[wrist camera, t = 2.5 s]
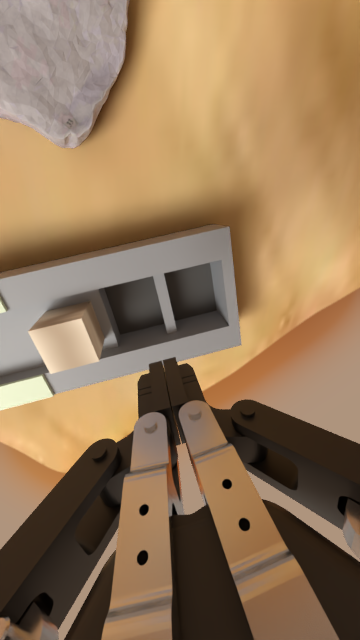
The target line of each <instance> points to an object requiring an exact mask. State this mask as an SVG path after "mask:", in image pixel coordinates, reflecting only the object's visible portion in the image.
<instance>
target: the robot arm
mask: <svg viewBox="0 0 360 640" xmlns="http://www.w3.org/2000/svg"><path fill="white" fill-rule="evenodd" d="M163 364H164V367H163ZM164 369H165V371H164ZM149 372H150V373H149V374H145V375H141V377H140V379H139V381H138V414H139V419H138V421H137V422H136V424H135V426H134V431H133V432H132V433H131V434H130V435H128V436H127V437H125V438H124V439H122V440H120V441H119V442H117V443H116V442H115V441H114V440H112V439H101V440H99V441H97V442H95V443H93V444H92V445H91V446H90V447H89V448H88V449H87V450H86V451H85V452H84V454H83V455H82V456H81V457H80V458H79V459H78V460H77V462H76V463H75V464H74V465H73V466H72V467H71V469H70V470H69V471H68V472H67V473H66V474H65V476H64V477H63V478H62V479H61V480H60V481H59V482H58V484H57V485H56V486H55V487H54V488H53V489H52V491H51V492H50V493H49V494H48V495H47V496H46V498H45V499H44V500H43V501H42V502H41V503H40V504H39V506H38V507H37V508H36V509H35V510H34V511H33V513H32V514H31V515H30V516H29V517H28V518H27V520H26V521H25V522H24V523H23V524H22V525H21V526H20V528H19V529H18V530H17V531H16V533H15V534H14V535H13V536H12V537H11V538H10V539H9V541H8V542H7V543H6V544H5V545H4V546H3V547H2V549H1V550H0V640H58V639H59V638H58V629H59V627H60V626H61V624H62V622H63V621H64V619H65V617H66V615H67V614H68V612H69V610H70V609H71V607H72V605H73V604H74V602H75V600H76V598H77V597H78V595H79V593H80V591H81V590H82V588H83V586H84V585H85V583H86V581H87V580H88V578H89V576H90V575H91V573H92V571H93V569H94V568H95V566H96V564H97V562H98V561H99V559H100V558H101V556H102V554H103V552H104V551H105V549H106V547H107V546H108V544H109V542H110V541H111V539H112V537H113V535H114V534H115V532H116V530H117V529H118V527H119V529H118V538H117V548H116V550H115V551H114V553H113V554H112V555H111V556H110V558H109V559H108V561H107V562H106V564H105V565H104V567H103V568H102V570H101V572H100V574H99V576H98V578H97V580H96V581H95V583H94V585H93V587H92V589H91V591H90V593H89V594H88V596H87V598H86V600H85V602H84V604H83V606H82V607H81V610H80V611H79V613H78V615H77V617H76V619H75V620H74V623H73V624H72V626H71V628H70V630H69V632H68V634H67V635H66V637H65V639H64V640H360V562H359V561H357V560H356V559H355V558H353V557H352V556H351V555H349V554H348V553H346V552H345V551H344V550H342V549H341V548H339V547H338V546H337V545H335V544H334V543H332V542H331V541H329V540H328V539H327V538H325V537H324V536H322V535H321V534H319V533H318V532H317V531H315V530H314V529H313V528H311V527H310V526H308V525H307V524H306V523H304V522H303V521H301V520H300V519H298V518H297V517H296V516H294V515H293V514H291V513H290V512H289V511H287V510H286V509H284V508H282V507H280V506H279V505H277V504H275V503H272V502H270V501H267V500H263V499H261V498H260V496H259V494H258V492H257V490H256V488H255V486H254V484H253V482H252V480H251V478H250V477H249V475H248V473H247V471H249V472H251V473H252V474H254V475H255V476H257V477H258V478H260V479H262V480H263V481H265V482H266V483H268V484H270V485H271V486H273V487H275V488H276V489H278V490H279V491H281V492H282V493H284V494H286V495H287V496H289V497H290V498H292V499H294V500H295V501H297V502H298V503H300V504H302V505H303V506H305V507H306V508H308V509H310V510H311V511H313V512H315V513H316V514H318V515H319V516H321V517H322V518H324V519H326V520H327V521H329V522H330V523H332V524H334V525H335V526H337V527H338V528H340V529H342V530H343V535H344V538H345V540H346V542H347V544H348V546H349V547H350V548H351V550H352V551H353V553H354V554H355V555H356V556H357V557H358V558H359V559H360V444H358V443H356V442H353V441H351V440H348V439H346V438H344V437H341V436H338V435H336V434H334V433H332V432H329V431H327V430H324V429H322V428H319V427H317V426H314V425H312V424H310V423H307V422H305V421H302V420H300V419H297V418H295V417H292V416H290V415H287V414H285V413H283V412H280V411H278V410H275V409H273V408H271V407H268V406H266V405H263V404H261V403H258V402H256V401H253V400H241V401H238V402H236V403H235V404H234V405H233V406H232V408H231V409H229V410H222V409H221V410H220V409H215V408H213V407H211V406H210V405H208V404H207V402H206V401H205V399H204V396H203V393H202V391H201V388H200V385H199V383H198V381H197V378H196V375H195V372H194V370H193V368H192V367H191V366H190V365H189V364H187V363H186V364H182V365H178V364H177V361H176V357H173V358H169V359H165V360H163V363H162V361H158V362H154V363H150V364H149ZM176 423H177V424H176ZM177 427H178V428H177ZM178 430H179V433H178ZM179 434H180V437H181V441H182V444H183V443H186V446H187V449H188V453H189V457H190V461H191V464H192V466H193V470H194V473H195V476H196V479H197V482H198V486H199V489H200V492H201V495H202V498H203V501H204V505H205V506H204V507H202V508H201V509H199V510H198V511H196V512H195V513H193V514H190V515H184V509H183V501H182V492H181V481H180V471H179V462H178V454H177V448H176V445H180V444H181V443H180V438H179ZM246 470H247V471H246Z"/></svg>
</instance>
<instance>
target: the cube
mask: <svg viewBox="0 0 360 640" xmlns="http://www.w3.org/2000/svg"><path fill="white" fill-rule="evenodd" d="M28 333H29V335H30V337H31V338H32V340H33V342H34V344H35V346H36V348H37V350H38V352H39V353H40V355H41V357H42V359H43V361H44V363H45V365H46V366H47V368H48V370H49V372H50V374H52V373H56V372H60V371H64V370H68V369H72V368H76V367H80V366H83V365H87V364H91V363H95V362H99V360H100V356H101V352H102V348H103V344H104V340H105V338H104V335H103V332H102V330H101V327H100V325H99V322H98V319H97V317H96V314H95V312H94V309H93V306H92V304H91V301H87V302H83V303H79V304H75V305H71V306H67V307H62V308H58V309H54V310H50V311H46V312H45V313H44V314H43V315H42V316H41V317H40V318H39V320H38V321H37V322H36V323H35V324H34V325H33V326H32V327H31V329H30V330H29V331H28Z"/></svg>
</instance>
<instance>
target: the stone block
mask: <svg viewBox="0 0 360 640" xmlns="http://www.w3.org/2000/svg"><path fill="white" fill-rule="evenodd" d="M129 1H130V0H0V118H3V119H8V120H11V121H14V122H17V123H22V124H24V125H26V126H28V127H31V128H33V129H34V130H36V131H37V132H38V133H40V134H41V135H43V136H44V137H45V138H47V139H48V140H50V141H51V142H53V143H54V144H56V145H57V146H59V147H62V148H76V147H77V146H79V145H80V144H81V143H82V142H83V141H84V140H85V139H86V138H87V137H88V136H89V133H90V132H91V130H92V128H93V126H94V123H95V121H96V119H97V116H98V114H99V112H100V110H101V107H102V105H103V104H104V103H105V101H106V100H107V98H108V94H109V91H110V89H111V87H112V86H113V84H114V83H115V81H116V79H117V76H118V74H119V72H120V69H121V67H122V65H123V63H124V59H125V49H126V30H127V24H128V18H127V14H128V6H129Z"/></svg>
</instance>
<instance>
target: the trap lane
mask: <svg viewBox="0 0 360 640" xmlns="http://www.w3.org/2000/svg"><path fill="white" fill-rule="evenodd" d="M87 301H91V304H92V306H93V309H94V312H95V314H96V317H97V319H98V322H99V325H100V327H101V330H102V332H103V335H104V338H105V340H104V344H103V348H102V352H101V356H100V360H99V362H95V363H91V364H87V365H83V366H80V367H76V368H72V369H68V370H64V371H60V372H56V373H52V374H50V372H49V370H48V368H47V366H46V365H45V363H44V361H43V359H42V357H41V355H40V353H39V352H38V350H37V348H36V346H35V344H34V342H33V340H32V338H31V337H30V335H29V333H28V331H29V330H30V329H31V327H32V326H33V325H34V324H35V323H36V322H37V321H38V320H39V318H40V317H41V316H42V315H43V314H44V313H45V312H46V311H50V310H54V309H58V308H62V307H67V306H71V305H75V304H79V303H83V302H87ZM239 345H241V336H240V326H239V316H238V306H237V296H236V286H235V276H234V266H233V256H232V246H231V237H230V227H229V226H223V225H217V224H211V225H207V226H202V227H198V228H194V229H189V230H185V231H180V232H176V233H172V234H167V235H163V236H158V237H154V238H150V239H145V240H141V241H136V242H132V243H128V244H123V245H119V246H114V247H110V248H106V249H101V250H97V251H92V252H88V253H83V254H79V255H75V256H70V257H66V258H61V259H57V260H53V261H48V262H44V263H39V264H35V265H31V266H26V267H22V268H17V269H13V270H9V271H4V272H0V410H4V409H8V408H12V407H15V406H19V405H23V404H27V403H30V402H34V401H38V400H42V399H46V398H49V397H53V396H54V394H57V393H61V392H65V391H69V390H73V389H76V388H80V387H84V386H88V385H92V384H95V383H99V382H103V381H107V380H110V379H114V378H118V377H122V376H126V375H129V374H133V373H137V372H141V371H145V370H148V369H149V364H150V363H154V362H158V361H162V363H163V360H165V359H169V358H173V357H176V361H177V362H179V361H182V360H186V359H190V358H194V357H198V356H201V355H205V354H209V353H213V352H217V351H220V350H224V349H228V348H232V347H236V346H239ZM163 366H164V364H163Z"/></svg>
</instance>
